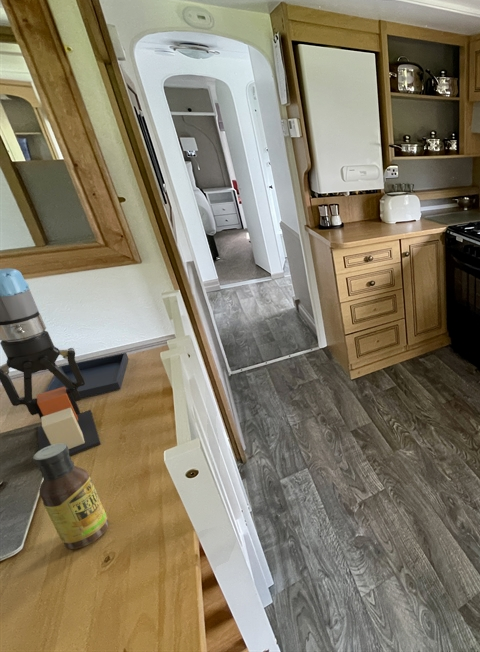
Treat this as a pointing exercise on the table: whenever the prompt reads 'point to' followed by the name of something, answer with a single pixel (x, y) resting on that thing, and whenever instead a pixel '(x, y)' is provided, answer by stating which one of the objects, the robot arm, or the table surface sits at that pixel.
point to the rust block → (54, 401)
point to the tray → (96, 375)
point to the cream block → (62, 428)
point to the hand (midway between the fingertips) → (61, 416)
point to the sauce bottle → (70, 498)
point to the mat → (87, 429)
